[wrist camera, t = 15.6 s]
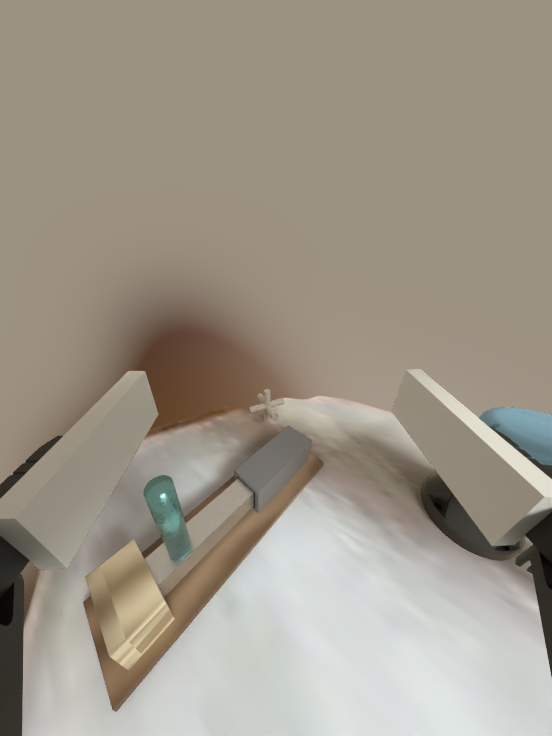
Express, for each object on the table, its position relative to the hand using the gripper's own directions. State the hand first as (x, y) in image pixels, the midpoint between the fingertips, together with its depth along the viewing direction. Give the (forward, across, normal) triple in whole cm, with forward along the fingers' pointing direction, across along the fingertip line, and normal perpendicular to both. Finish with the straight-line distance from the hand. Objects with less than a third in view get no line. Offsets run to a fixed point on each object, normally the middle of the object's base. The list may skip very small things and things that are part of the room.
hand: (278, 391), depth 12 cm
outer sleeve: (+21, +2, -37) cm, 42 cm away
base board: (+13, -6, -38) cm, 41 cm away
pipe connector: (+39, 0, -38) cm, 55 cm away
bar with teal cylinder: (+10, -9, -35) cm, 38 cm away
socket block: (+1, -18, -36) cm, 40 cm away
